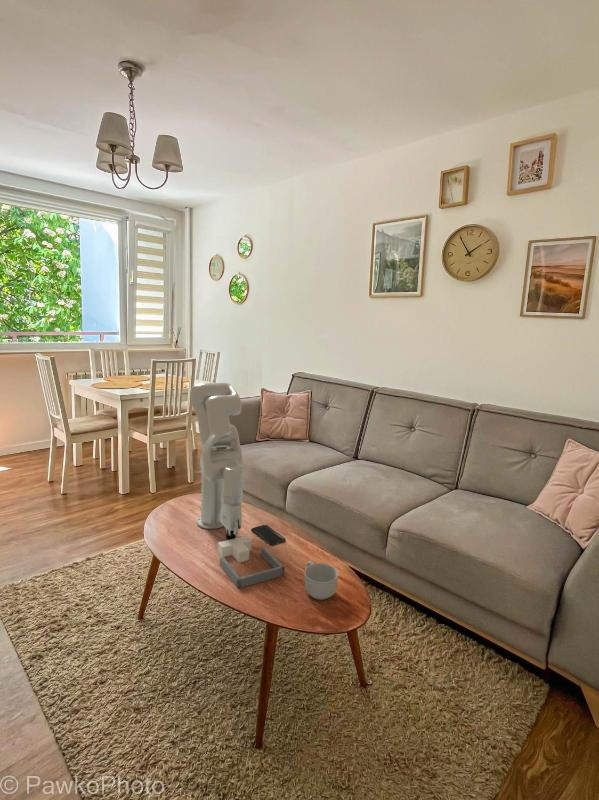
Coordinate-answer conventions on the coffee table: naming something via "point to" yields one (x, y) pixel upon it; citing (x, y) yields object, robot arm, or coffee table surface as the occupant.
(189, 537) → the coffee table surface
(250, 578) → the bay
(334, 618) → the coffee table surface
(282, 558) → the coffee table surface
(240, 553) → the t block
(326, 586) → the teacup
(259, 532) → the phone
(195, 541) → the coffee table surface
